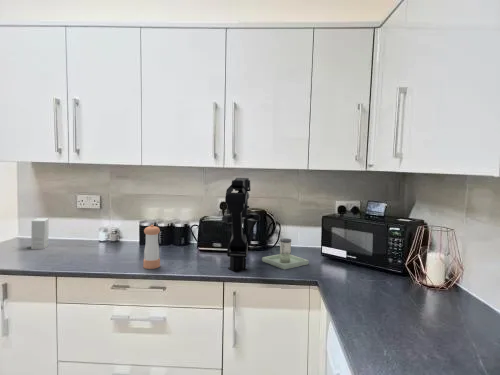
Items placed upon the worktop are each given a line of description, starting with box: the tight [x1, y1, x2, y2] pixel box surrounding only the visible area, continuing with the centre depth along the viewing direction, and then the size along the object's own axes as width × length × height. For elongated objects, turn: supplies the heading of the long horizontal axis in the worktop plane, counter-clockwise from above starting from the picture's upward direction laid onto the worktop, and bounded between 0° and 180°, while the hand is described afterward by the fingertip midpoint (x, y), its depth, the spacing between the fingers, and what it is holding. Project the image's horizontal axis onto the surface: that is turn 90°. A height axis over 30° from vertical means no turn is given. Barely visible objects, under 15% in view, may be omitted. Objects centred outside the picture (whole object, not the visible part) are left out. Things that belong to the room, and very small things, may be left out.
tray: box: [261, 253, 310, 270], centre depth 163 cm, size 16×16×2 cm
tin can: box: [279, 238, 292, 263], centre depth 163 cm, size 5×5×11 cm
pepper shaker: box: [143, 224, 161, 270], centre depth 151 cm, size 7×7×19 cm
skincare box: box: [30, 217, 49, 250], centre depth 181 cm, size 8×7×16 cm
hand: (241, 235), depth 162 cm, fingers open, 9 cm apart
